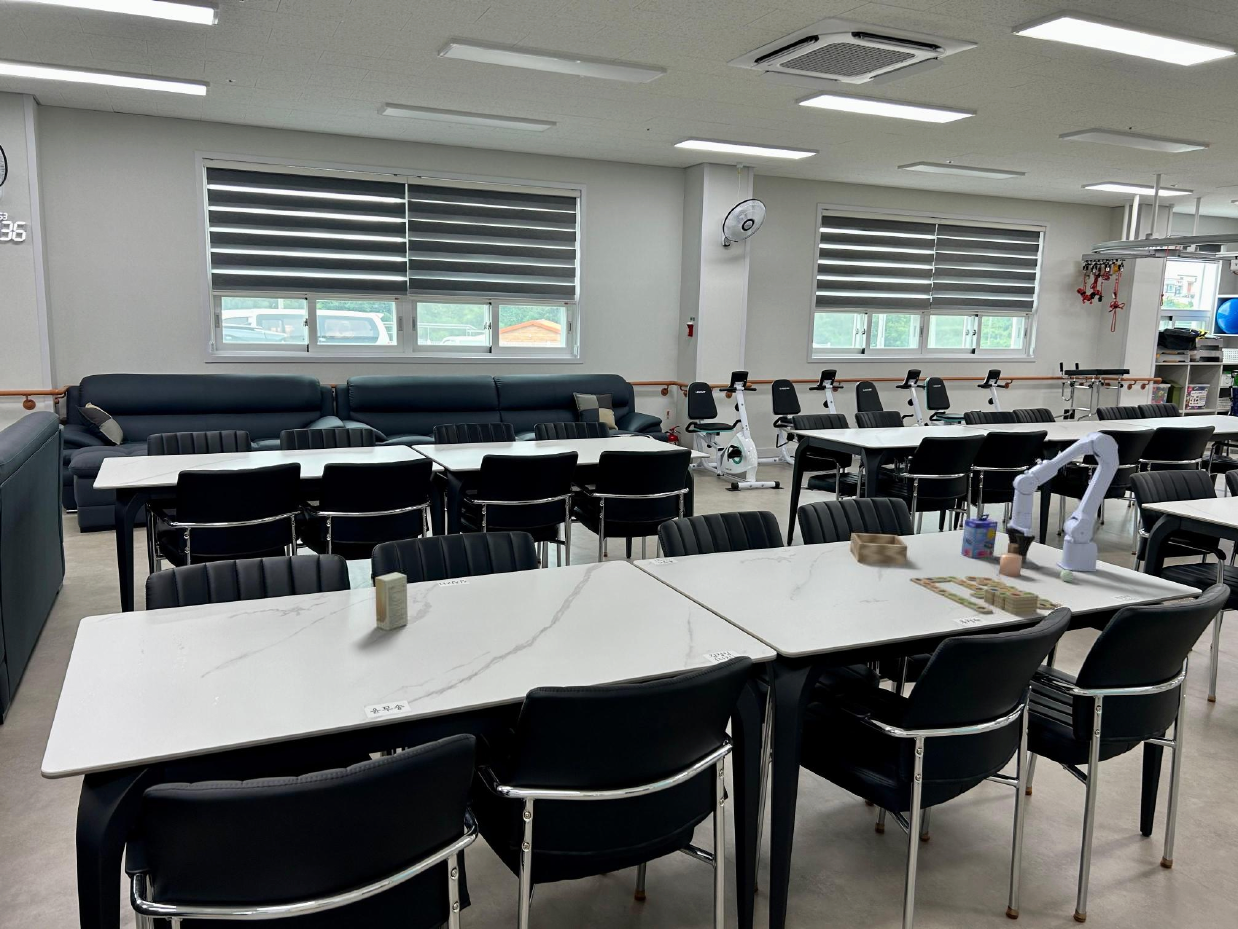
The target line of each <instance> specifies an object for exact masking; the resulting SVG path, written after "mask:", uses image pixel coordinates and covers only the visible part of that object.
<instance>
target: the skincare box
mask: <svg viewBox="0 0 1238 929" xmlns="http://www.w3.org/2000/svg"><path fill="white" fill-rule="evenodd" d="M407 578H408V577H407V575H406V574H403V573H400V572H391V573H386V574H383V575H380V576H377V577H375V579H374V581H375V586H374V587H375V616H376V617H375V619H376V620H375V621H376V622H375V623H376V624H375V625H376V627H378V628H380V629H382V630H385V631H389V630H394V629H395V628H396V629H397V628H399V627H403V626H405V625H408V624H409V623H408V622H409V621H408V620H409V619H408V613H409V612H408V580H407Z"/></svg>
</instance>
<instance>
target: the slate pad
mask: <svg viewBox="0 0 1238 929" xmlns="http://www.w3.org/2000/svg"><path fill="white" fill-rule="evenodd" d="M993 559H994V560H995V561H996V562H998V563H999V564H1000V559H1001V556H997V555H995V556H994V555H993ZM1041 568H1042V566H1040V565H1038V564H1037V563H1036V562H1034V561H1033V560H1031V558H1029V557H1027V558H1026V564H1021V569H1033V570H1034V569H1035V570H1038V569H1039V570H1041Z"/></svg>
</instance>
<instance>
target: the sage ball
mask: <svg viewBox="0 0 1238 929" xmlns="http://www.w3.org/2000/svg"><path fill="white" fill-rule="evenodd" d="M1059 577H1060V579H1061V580H1062V581H1064V582H1068V583H1069V582H1071V581H1072V580H1073V578H1074V574H1073V571H1072V570H1065V569H1063V570H1062V571H1061V572H1060V576H1059Z"/></svg>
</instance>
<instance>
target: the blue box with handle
mask: <svg viewBox="0 0 1238 929" xmlns="http://www.w3.org/2000/svg"><path fill="white" fill-rule="evenodd" d="M989 516H990V513H988V514H981V515H980V516H979V518H968V519H965V520H964V525H963V526H964V528H963V536H962V545H961V552H960V553H961V555H963V556H966V557H968V558H970V559H979V558H987V557H989V558H990V557H992V558H993V557H994V553H995V544H996V536H997V529H998V521H996V520H994V519H990V518H989Z"/></svg>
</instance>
